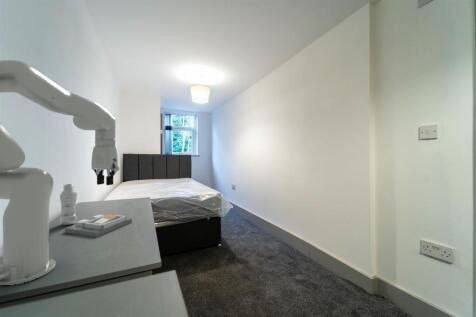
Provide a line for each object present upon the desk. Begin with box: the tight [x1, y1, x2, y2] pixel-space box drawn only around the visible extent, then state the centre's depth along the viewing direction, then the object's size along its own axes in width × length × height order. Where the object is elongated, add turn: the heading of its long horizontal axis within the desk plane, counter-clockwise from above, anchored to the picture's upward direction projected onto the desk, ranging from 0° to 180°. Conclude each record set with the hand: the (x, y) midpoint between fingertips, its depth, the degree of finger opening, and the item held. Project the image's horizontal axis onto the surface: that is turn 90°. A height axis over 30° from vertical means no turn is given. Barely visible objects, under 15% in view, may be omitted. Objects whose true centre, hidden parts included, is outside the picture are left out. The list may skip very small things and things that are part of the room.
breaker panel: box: [64, 214, 133, 238], centre depth 99 cm, size 20×18×4 cm
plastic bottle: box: [59, 183, 78, 226], centre depth 101 cm, size 6×7×20 cm
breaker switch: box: [94, 213, 118, 224], centre depth 98 cm, size 8×5×1 cm, turn 166°
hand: (105, 184), depth 90 cm, fingers open, 4 cm apart
